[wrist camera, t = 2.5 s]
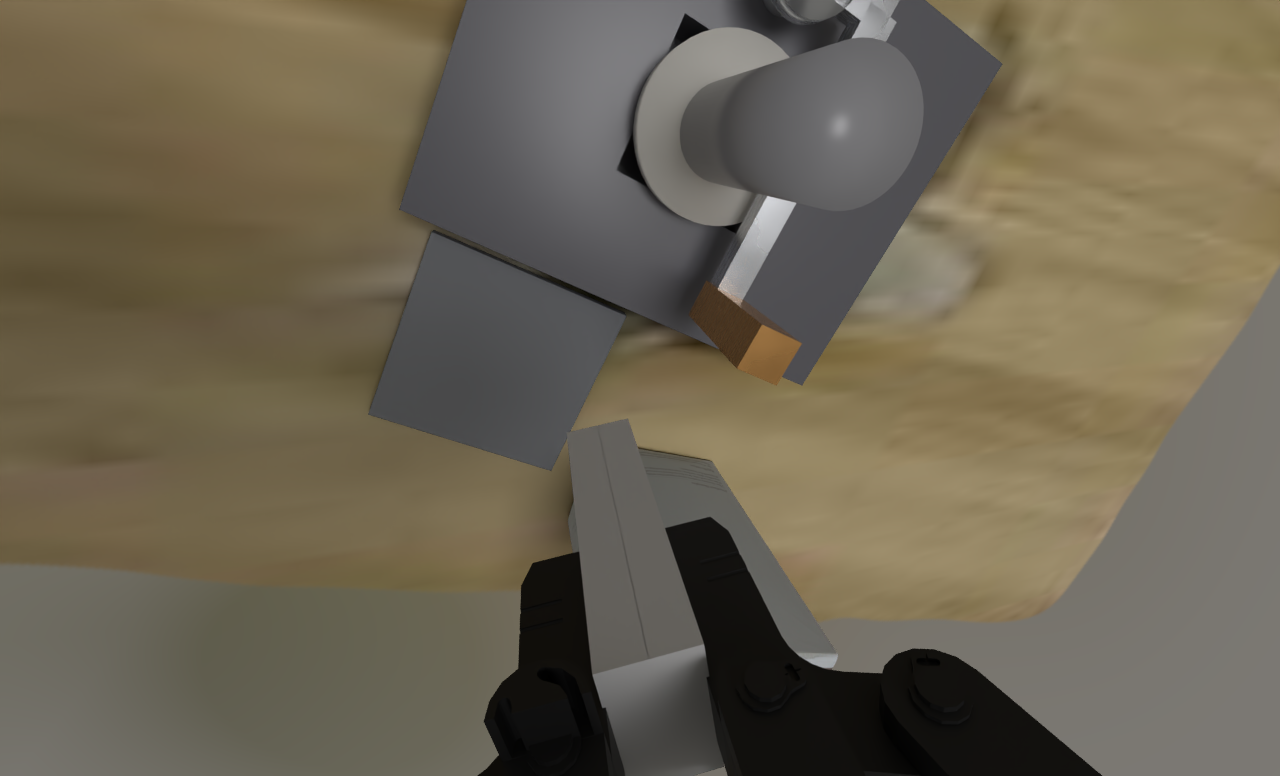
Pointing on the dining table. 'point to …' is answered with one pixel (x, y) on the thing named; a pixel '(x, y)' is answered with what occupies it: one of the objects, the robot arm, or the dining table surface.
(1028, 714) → the robot arm
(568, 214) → the socket block
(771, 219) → the clip
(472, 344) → the pad
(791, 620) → the skincare box
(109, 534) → the dining table surface
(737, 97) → the plug
